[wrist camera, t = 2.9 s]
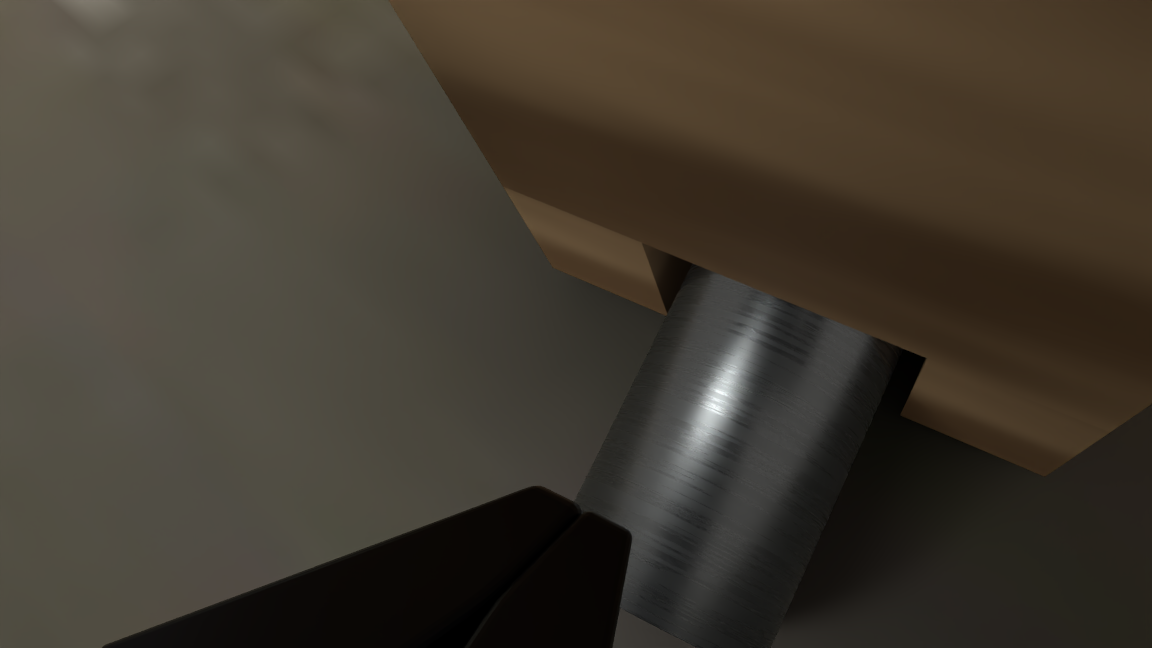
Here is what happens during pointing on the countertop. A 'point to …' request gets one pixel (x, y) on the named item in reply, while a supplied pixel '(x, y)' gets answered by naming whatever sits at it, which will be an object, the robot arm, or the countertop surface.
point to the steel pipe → (733, 457)
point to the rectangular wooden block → (848, 177)
